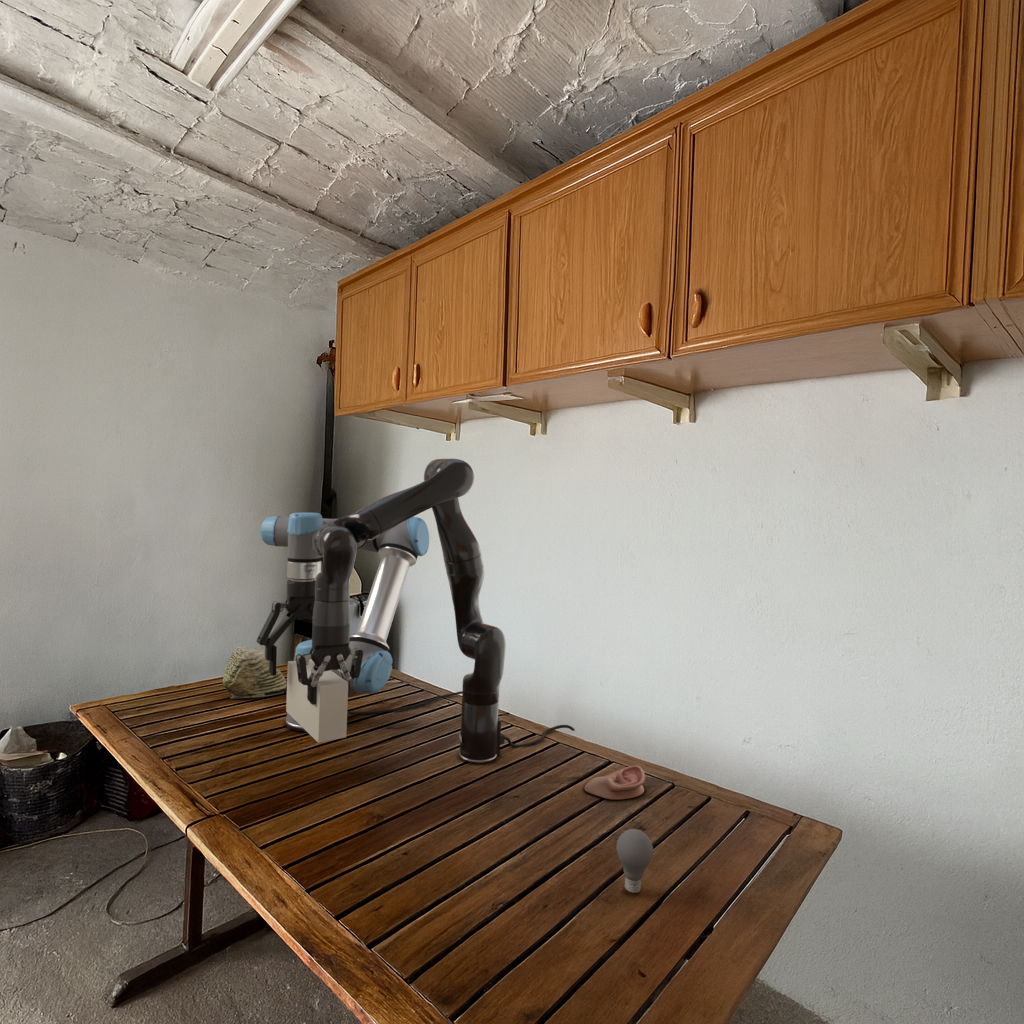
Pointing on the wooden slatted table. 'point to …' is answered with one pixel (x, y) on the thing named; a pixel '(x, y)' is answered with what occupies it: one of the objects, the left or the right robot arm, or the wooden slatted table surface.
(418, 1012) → the wooden slatted table surface
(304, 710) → the box
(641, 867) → the light bulb
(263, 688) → the fossil
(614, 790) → the anatomical model
